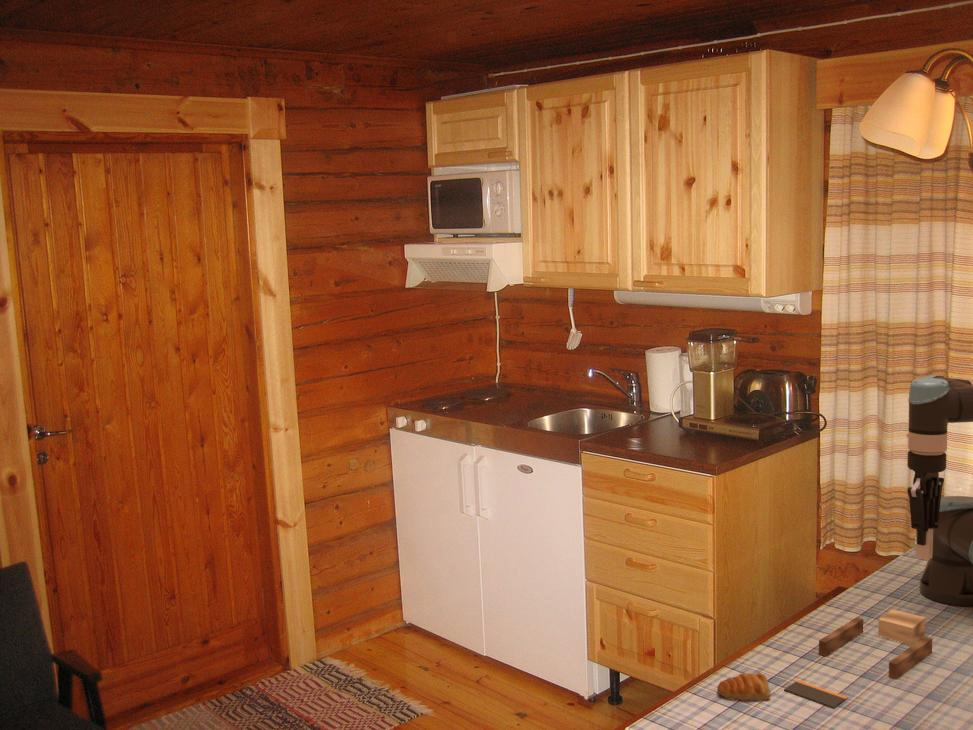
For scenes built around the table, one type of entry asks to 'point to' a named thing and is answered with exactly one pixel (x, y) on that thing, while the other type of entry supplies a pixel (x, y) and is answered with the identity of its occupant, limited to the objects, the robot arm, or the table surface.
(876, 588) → the table surface
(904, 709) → the table surface
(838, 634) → the lane
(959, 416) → the robot arm
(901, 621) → the block
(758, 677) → the pastry
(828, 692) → the pad
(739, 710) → the table surface
